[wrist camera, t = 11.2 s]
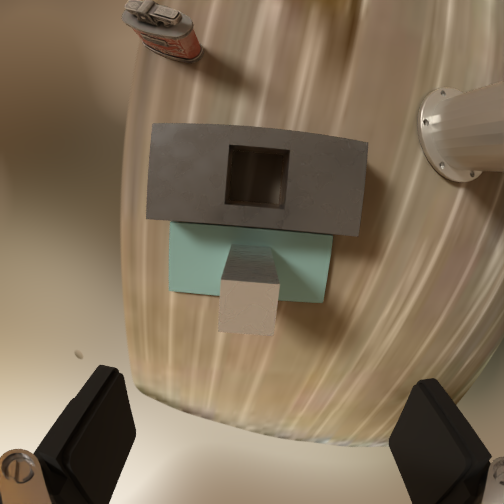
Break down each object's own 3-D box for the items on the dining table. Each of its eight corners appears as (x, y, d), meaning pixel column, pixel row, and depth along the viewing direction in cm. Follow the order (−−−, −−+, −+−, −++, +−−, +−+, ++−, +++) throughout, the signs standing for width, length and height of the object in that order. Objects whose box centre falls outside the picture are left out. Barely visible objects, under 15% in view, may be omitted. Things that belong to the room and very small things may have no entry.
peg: (270, 247, 33) (279, 284, 22) (266, 283, 34) (273, 335, 23) (231, 243, 33) (220, 279, 22) (229, 280, 34) (218, 331, 22)
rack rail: (349, 148, 31) (368, 142, 26) (340, 226, 34) (358, 236, 28) (169, 132, 31) (152, 123, 25) (163, 211, 33) (146, 219, 27)
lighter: (138, 48, 28) (105, 13, 19) (153, 26, 28) (125, -13, 18) (194, 68, 29) (173, 31, 20) (209, 46, 29) (194, 3, 19)
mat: (331, 234, 34) (333, 235, 33) (321, 300, 36) (322, 303, 35) (171, 221, 33) (169, 222, 33) (170, 288, 35) (168, 290, 34)
